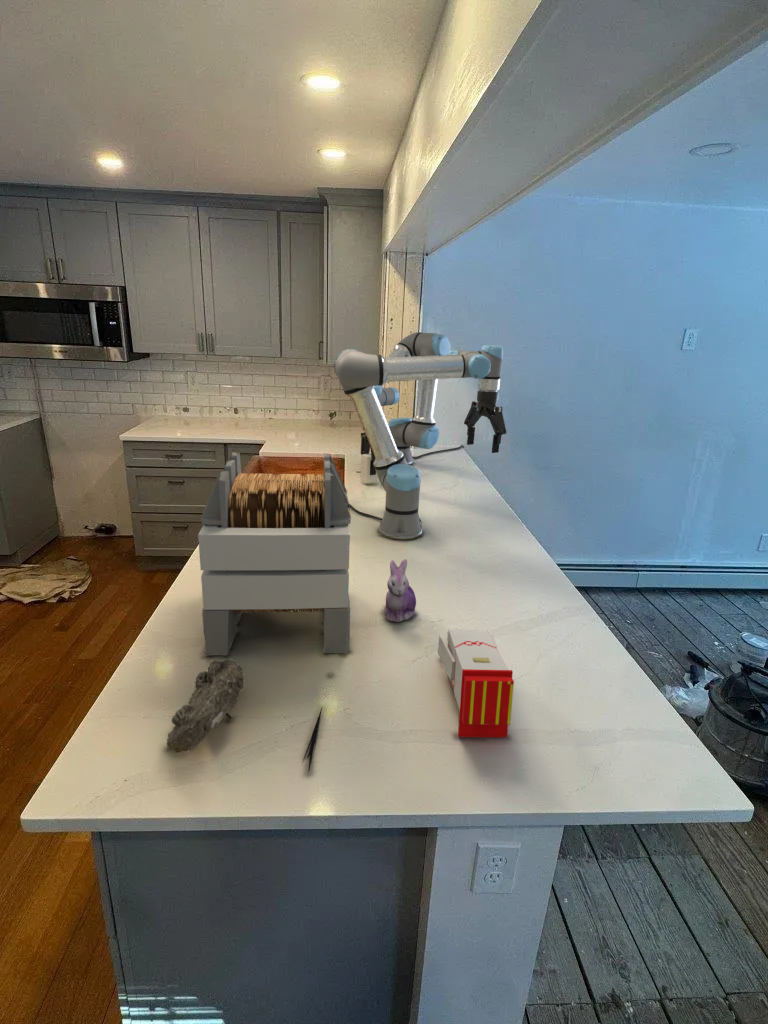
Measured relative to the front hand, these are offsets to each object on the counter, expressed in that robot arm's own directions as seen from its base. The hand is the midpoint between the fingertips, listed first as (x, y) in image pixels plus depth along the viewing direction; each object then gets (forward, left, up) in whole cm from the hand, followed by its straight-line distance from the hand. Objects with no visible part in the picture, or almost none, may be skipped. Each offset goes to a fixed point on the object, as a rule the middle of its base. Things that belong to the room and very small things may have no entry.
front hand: (482, 448), depth 210 cm
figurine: (+37, -73, -27) cm, 87 cm away
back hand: (-56, -7, -22) cm, 61 cm away
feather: (+58, -112, -27) cm, 129 cm away
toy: (+70, -83, -27) cm, 112 cm away
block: (-56, -7, -26) cm, 62 cm away
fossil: (+45, -128, -27) cm, 138 cm away
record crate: (+21, -98, -27) cm, 104 cm away
